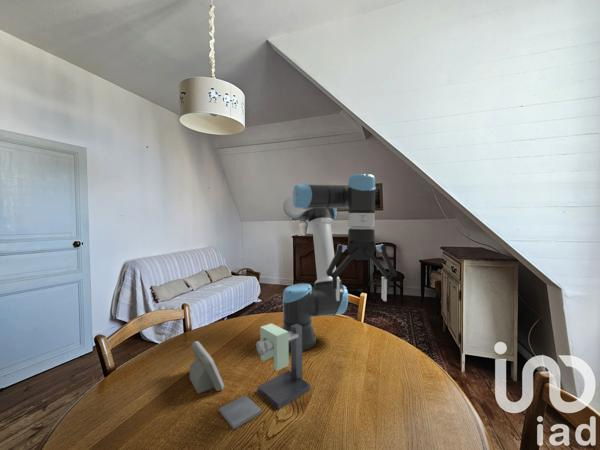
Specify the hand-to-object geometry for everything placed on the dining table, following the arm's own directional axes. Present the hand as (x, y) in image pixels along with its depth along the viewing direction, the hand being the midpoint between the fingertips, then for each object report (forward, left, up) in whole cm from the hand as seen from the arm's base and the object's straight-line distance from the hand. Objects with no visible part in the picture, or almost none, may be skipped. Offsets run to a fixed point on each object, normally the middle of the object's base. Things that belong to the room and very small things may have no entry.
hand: (360, 299), depth 78 cm
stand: (-15, -18, -27) cm, 36 cm away
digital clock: (-35, -32, -27) cm, 55 cm away
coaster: (-16, -31, -27) cm, 44 cm away
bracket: (-15, -21, -17) cm, 31 cm away
